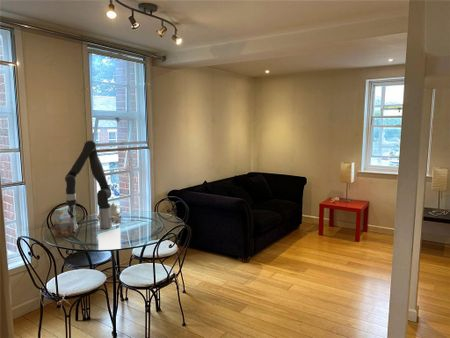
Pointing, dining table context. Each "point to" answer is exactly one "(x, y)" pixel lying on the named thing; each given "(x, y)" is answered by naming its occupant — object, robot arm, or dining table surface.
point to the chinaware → (114, 213)
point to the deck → (58, 234)
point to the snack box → (62, 215)
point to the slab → (68, 223)
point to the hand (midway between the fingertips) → (72, 219)
